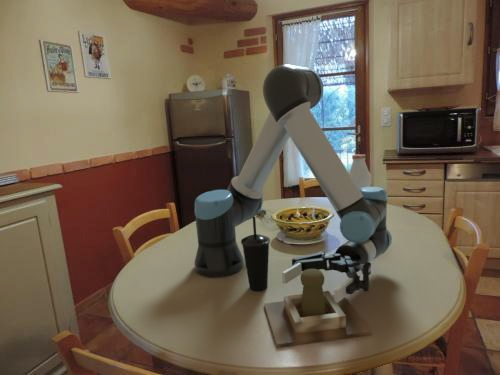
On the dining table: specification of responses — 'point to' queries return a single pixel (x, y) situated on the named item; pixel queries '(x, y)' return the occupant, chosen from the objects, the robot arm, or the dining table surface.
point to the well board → (313, 321)
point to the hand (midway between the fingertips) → (308, 286)
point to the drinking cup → (256, 259)
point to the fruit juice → (360, 171)
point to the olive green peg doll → (312, 293)
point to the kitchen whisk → (264, 213)
